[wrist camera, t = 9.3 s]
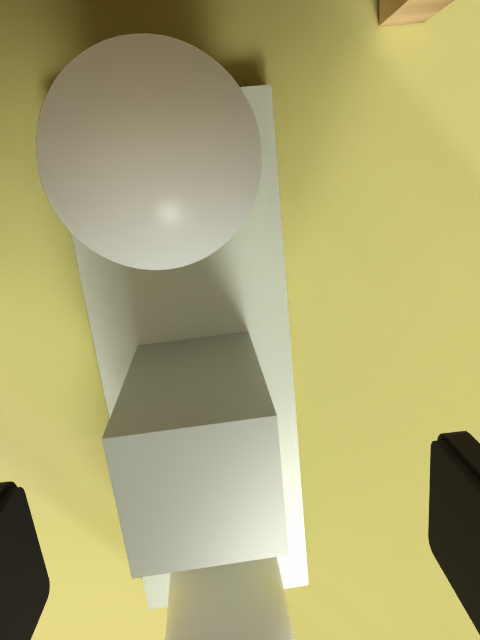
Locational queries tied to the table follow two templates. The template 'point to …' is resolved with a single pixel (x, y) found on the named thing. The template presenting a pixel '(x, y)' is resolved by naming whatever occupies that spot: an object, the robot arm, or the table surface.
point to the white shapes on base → (185, 324)
